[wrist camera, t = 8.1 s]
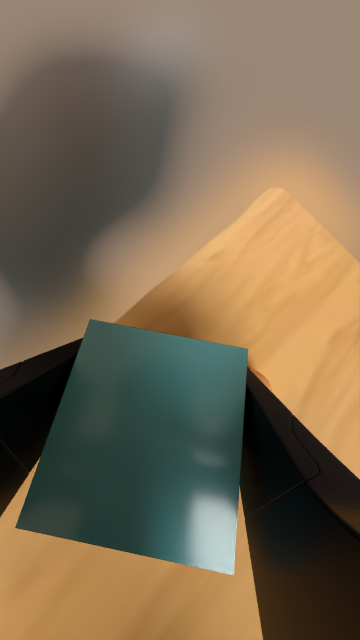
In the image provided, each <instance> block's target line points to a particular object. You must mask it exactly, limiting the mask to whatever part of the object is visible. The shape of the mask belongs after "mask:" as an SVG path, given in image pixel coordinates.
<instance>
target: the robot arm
mask: <svg viewBox="0 0 360 640" xmlns="http://www.w3.org/2000/svg"><path fill="white" fill-rule="evenodd" d="M82 340H83V338H81V339H79V340H76V341H74V342H71V343H68V344H66V345H63V346H60V347H58V348H55V349H53V350H50V351H48V352H45V353H42V354H40V355H37V356H35V357H32V358H29V359H27V360H24V361H23V362H19V363H17V364H14V365H11V366H9V367H6V368H4V369H1V370H0V517H1V515H2V514H3V512H4V511H5V509H6V508H7V506H8V505H9V503H10V502H11V500H12V499H13V497H14V496H15V494H16V493H17V491H18V490H19V488H20V487H21V485H22V484H23V482H24V481H25V479H26V478H27V476H28V475H29V473H30V472H31V470H32V469H33V467H34V466H35V464H36V463H37V461H38V460H39V458H40V457H41V455H42V452H43V449H44V446H45V444H46V441H47V438H48V435H49V432H50V430H51V427H52V424H53V421H54V418H55V416H56V413H57V410H58V407H59V405H60V402H61V399H62V396H63V393H64V391H65V388H66V385H67V382H68V379H69V377H70V374H71V371H72V368H73V365H74V363H75V360H76V357H77V354H78V352H79V349H80V346H81V343H82ZM239 485H240V492H241V498H242V505H243V511H244V517H245V525H246V531H247V538H248V544H249V551H250V557H251V564H252V570H253V577H254V583H255V590H256V596H257V603H258V609H259V616H260V622H261V629H262V635H263V640H360V479H359V478H358V477H356V476H355V475H354V474H353V473H352V472H351V471H350V470H349V469H348V468H347V467H346V466H345V465H344V464H343V463H342V462H341V461H340V460H338V459H337V458H336V457H335V456H334V455H333V454H332V453H331V452H330V451H329V450H328V449H327V448H326V447H325V446H324V445H323V444H322V443H321V442H320V441H319V440H318V439H317V438H316V437H315V436H314V435H313V434H312V433H311V432H310V431H309V430H308V429H307V428H306V427H305V426H304V425H303V424H302V423H301V422H300V421H299V420H298V419H297V418H296V417H295V416H294V415H292V413H291V412H290V411H289V410H288V409H287V408H286V406H285V405H284V404H283V403H282V402H281V401H280V400H279V399H278V398H277V397H276V396H275V395H274V394H273V393H272V392H271V391H270V390H269V389H268V388H267V387H266V385H265V384H264V383H263V382H262V381H261V380H260V379H259V378H258V377H257V376H256V375H255V374H254V373H253V372H252V371H251V370H250V369H249V368H248V367H247V373H246V389H245V405H244V421H243V437H242V452H241V468H240V484H239Z"/></svg>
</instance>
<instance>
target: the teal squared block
mask: <svg viewBox="0 0 360 640" xmlns="http://www.w3.org/2000/svg"><path fill="white" fill-rule="evenodd" d="M247 358H248V349H245V348H240V347H234V346H229V345H224V344H219V343H213V342H208V341H203V340H197V339H192V338H187V337H182V336H176V335H171V334H166V333H160V332H155V331H150V330H144V329H139V328H134V327H129V326H123V325H118V324H113V323H107V322H102V321H97V320H91V319H90V321H89V324H88V326H87V329H86V332H85V335H84V338H83V340H82V343H81V346H80V349H79V352H78V354H77V357H76V360H75V363H74V365H73V368H72V371H71V374H70V377H69V379H68V382H67V385H66V388H65V391H64V393H63V396H62V399H61V402H60V405H59V407H58V410H57V413H56V416H55V418H54V421H53V424H52V427H51V430H50V432H49V435H48V438H47V441H46V444H45V446H44V449H43V452H42V455H41V458H40V460H39V463H38V466H37V469H36V471H35V474H34V477H33V480H32V483H31V485H30V488H29V491H28V494H27V497H26V499H25V502H24V505H23V508H22V510H21V513H20V516H19V519H18V522H17V524H16V527H15V528H18V529H23V530H28V531H32V532H37V533H41V534H46V535H51V536H55V537H60V538H64V539H69V540H74V541H78V542H83V543H88V544H92V545H97V546H101V547H106V548H111V549H115V550H120V551H124V552H129V553H134V554H138V555H143V556H147V557H152V558H157V559H161V560H166V561H170V562H175V563H180V564H184V565H189V566H193V567H198V568H203V569H207V570H212V571H217V572H221V573H226V574H230V575H234V563H235V547H236V531H237V516H238V500H239V484H240V468H241V452H242V437H243V421H244V405H245V389H246V373H247Z"/></svg>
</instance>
